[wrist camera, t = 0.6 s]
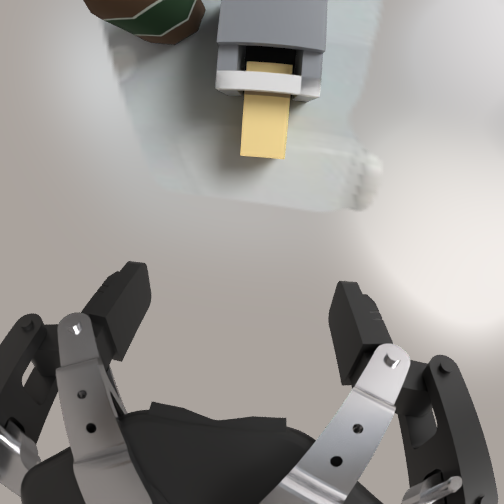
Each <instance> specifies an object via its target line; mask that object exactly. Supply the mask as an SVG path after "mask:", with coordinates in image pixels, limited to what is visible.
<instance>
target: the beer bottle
mask: <svg viewBox="0 0 504 504" xmlns="http://www.w3.org/2000/svg"><path fill="white" fill-rule="evenodd" d="M84 2H85V4H86V5H87V7H88V9H89V10H90V12H91V13H92V14H94V15H96V16H97V17H99V18H100V19H102V20H104V21H107V22H109V23H111V24H113V25H115V26H117V27H120V28H122V29H124V30H126V31H128V32H130V33H132V34H134V35H136V36H138V37H140V38H141V39H143V40H145V41H148V42H151V43H162V44H174V45H175V44H176V43H178V42H180V41H181V40H183V39H185V38H186V37H188V36H190V35H191V34H193V33H195V32H197V31H198V29H199V26H200V23H201V21H202V18H203V16H204V13H205V11H206V9H205V7H204V5H203V3H202V1H201V0H84Z"/></svg>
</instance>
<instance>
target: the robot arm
mask: <svg viewBox="0 0 504 504" xmlns="http://www.w3.org/2000/svg"><path fill="white" fill-rule="evenodd" d="M150 302H151V289H150V283H149V276H148V270H147V266H146V264H145V263H140V262H131V261H129V262H127V263H126V265H125V266H124V267H123V268H122V270H121V271H120V272H118V271H117V272H115V273H114V274H112V275H111V276H109V277H108V278H107V279H106V280H105V281H104V283H103V284H102V286H101V287H100V288H99V289H98V290H97V292H96V293H95V294H94V296H93V297H92V298H91V300H90V301H89V302H88V303H87V305H86V306H85V308H84V309H83V310H82V312H81V313H72V314H69V315H67V316H66V317H64V318H63V319H62V320H61V321H60V322H59V324H56V325H44V323H43V321H42V319H41V317H40V316H39V315H37V314H27V315H24V316H23V317H21V318H20V319H19V320H18V321H17V322H16V323H15V325H14V326H13V327H12V329H11V330H10V332H9V333H8V335H7V336H6V337H5V339H4V340H3V341H2V343H1V344H0V483H1V484H3V485H4V486H5V487H7V488H8V489H10V490H11V491H12V492H14V493H15V494H17V495H18V496H20V497H21V501H22V504H383V503H382V502H381V501H379V500H378V499H377V498H376V497H375V496H374V495H372V494H371V493H370V492H369V491H368V490H367V489H366V488H365V487H364V486H363V485H361V484H360V483H359V482H358V479H359V478H360V476H361V474H362V473H363V471H364V470H365V468H366V466H367V465H368V463H369V461H370V460H371V458H372V456H373V454H374V453H375V451H376V449H377V447H378V445H379V443H380V441H381V439H382V438H383V436H384V434H385V432H386V430H387V428H388V426H389V424H390V421H391V419H392V417H393V415H394V413H396V414H398V418H399V423H400V428H401V433H402V439H403V444H404V450H405V456H406V462H407V468H408V476H409V484H410V489H408V490H407V492H406V493H405V495H404V497H403V500H402V503H401V504H497V503H498V494H497V488H496V483H495V478H494V473H493V468H492V464H491V460H490V456H489V452H488V448H487V445H486V441H485V438H484V434H483V431H482V428H481V425H480V422H479V419H478V416H477V413H476V410H475V408H474V405H473V402H472V400H471V397H470V394H469V392H468V389H467V387H466V384H465V382H464V379H463V377H462V375H461V372H460V370H459V368H458V366H457V364H456V363H455V362H454V361H453V360H452V359H451V358H449V357H447V356H444V355H436V356H434V357H433V358H432V359H431V361H430V362H429V363H428V364H426V363H421V362H417V361H412V360H410V357H409V355H408V354H407V352H406V351H405V350H404V349H403V348H401V347H399V346H397V345H394V344H393V342H392V340H391V337H390V335H389V333H388V330H387V328H386V326H385V324H384V321H383V320H382V317H381V314H380V313H379V310H378V308H377V306H376V304H375V302H374V301H373V300H372V299H371V298H370V297H369V296H368V295H366V294H362V292H361V290H360V288H359V285H358V283H357V282H347V281H339V282H338V284H337V287H336V290H335V293H334V297H333V300H332V304H331V307H330V310H329V327H330V331H331V336H332V340H333V344H334V349H335V354H336V359H337V363H338V368H339V373H340V378H341V383H342V385H352V390H351V392H350V394H349V395H348V397H347V398H346V400H345V401H344V403H343V404H342V406H341V407H340V409H339V410H338V411H337V413H336V414H335V416H334V417H333V419H332V420H331V421H330V423H329V424H328V426H327V427H326V429H325V430H324V431H323V432H322V434H321V435H320V436H319V437H318V439H317V440H314V439H313V438H312V437H310V436H309V435H307V434H305V433H303V432H301V431H299V430H296V429H293V428H290V427H286V418H271V417H245V418H237V419H228V420H213V419H210V418H207V417H205V416H202V415H199V414H197V413H194V412H192V411H189V410H187V409H185V408H181V407H176V406H170V405H165V404H160V403H156V402H152V403H151V406H150V409H149V410H142V411H135V412H131V413H127V411H126V409H125V407H124V405H123V402H122V400H121V397H120V394H119V391H118V388H117V386H116V383H115V380H114V377H113V374H112V371H111V368H110V366H109V364H110V362H111V360H112V359H114V360H117V361H122V360H123V358H124V356H125V354H126V352H127V350H128V348H129V346H130V344H131V342H132V340H133V338H134V336H135V333H136V331H137V329H138V327H139V325H140V324H141V321H142V320H143V318H144V316H145V314H146V312H147V310H148V308H149V306H150ZM30 361H32V363H33V364H34V366H35V367H34V369H33V370H32V372H31V374H30V376H29V378H28V380H27V382H26V384H25V385H24V387H23V385H22V376H23V374H24V372H25V370H26V369H27V367H28V365H29V363H30ZM57 392H59V398H60V404H61V409H62V414H63V419H64V423H65V427H66V431H67V435H68V439H69V443H70V447H68V448H66V449H65V450H63V451H61V452H59V453H58V454H56V455H54V456H52V457H50V458H48V459H46V460H44V461H43V462H41V459H40V457H39V456H38V450H37V446H36V443H37V441H38V438H39V435H40V433H41V430H42V427H43V425H44V423H45V420H46V418H47V415H48V413H49V410H50V408H51V406H52V404H53V401H54V399H55V397H56V394H57ZM432 408H433V410H434V413H435V416H436V420H437V427H436V423H435V419H434V416H433V412H432Z"/></svg>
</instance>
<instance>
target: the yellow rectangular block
mask: <svg viewBox="0 0 504 504" xmlns="http://www.w3.org/2000/svg"><path fill="white" fill-rule="evenodd" d="M292 67H293V65H288V64H278V63H267V62H250V61H247V68H246V71H254V72H269V73H280V74H289V75H292ZM289 105H290V94H283V93H273V92H260V91H245V93H244V107H243V121H242V136H241V152H240V156H252V157H265V158H276V159H285V149H286V138H287V127H288V116H289Z"/></svg>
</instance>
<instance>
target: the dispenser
mask: <svg viewBox="0 0 504 504" xmlns="http://www.w3.org/2000/svg"><path fill="white" fill-rule="evenodd" d="M326 26H327V0H221V7H220V15H219V24H218V34H217V43H218V45H219V48H218V59H217V71H216V84H215V89H217V90H219V91H221V92H222V93H224V94H226V95H230V96H242V94H243V91H260V92H273V93H283V94H292V95H293V97H292V100H296V101H304V102H309V101H311V100H313V99H316V98H318V97H320V87H321V74H322V59H323V53H324V52H325V47H326ZM246 45H252V46H269V47H280V48H290V49H296V59H295V72H294V75H289V74H280V73H269V72H254V71H244V68H245V55H246Z"/></svg>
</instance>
